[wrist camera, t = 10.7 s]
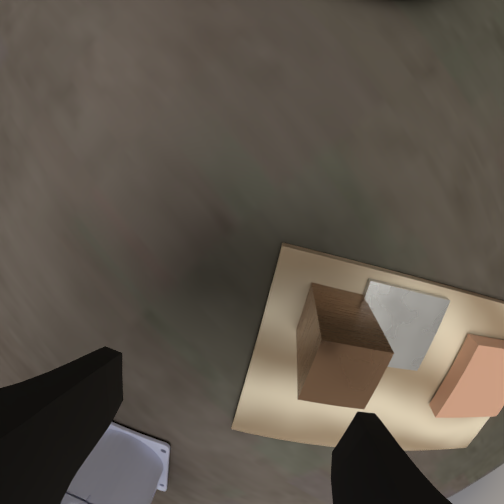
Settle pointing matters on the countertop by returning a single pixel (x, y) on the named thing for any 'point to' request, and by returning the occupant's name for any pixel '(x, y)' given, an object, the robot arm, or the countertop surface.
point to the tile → (473, 381)
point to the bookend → (361, 339)
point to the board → (393, 380)
